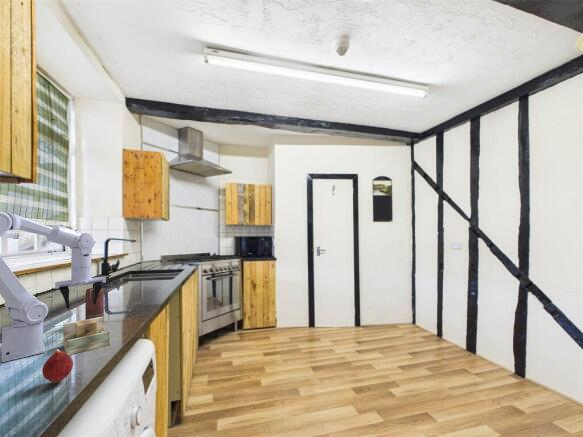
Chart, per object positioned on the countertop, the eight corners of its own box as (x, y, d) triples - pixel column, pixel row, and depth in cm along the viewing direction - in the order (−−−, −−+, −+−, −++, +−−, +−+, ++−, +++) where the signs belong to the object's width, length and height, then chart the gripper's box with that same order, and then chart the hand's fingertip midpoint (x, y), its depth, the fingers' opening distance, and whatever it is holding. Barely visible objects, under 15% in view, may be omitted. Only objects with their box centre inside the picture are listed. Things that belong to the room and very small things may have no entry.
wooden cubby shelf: (66, 355, 87) (67, 331, 87) (63, 345, 94) (63, 323, 94) (109, 344, 94) (109, 322, 94) (103, 336, 101) (103, 316, 102)
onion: (78, 376, 74) (78, 344, 74) (61, 388, 68) (61, 354, 69) (54, 377, 74) (55, 344, 74) (35, 389, 68) (36, 354, 68)
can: (82, 327, 112) (82, 290, 112) (88, 322, 118) (89, 287, 118) (100, 325, 113) (100, 289, 114) (106, 320, 120) (106, 286, 120)
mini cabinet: (77, 345, 91) (77, 326, 91) (75, 341, 95) (75, 322, 96) (96, 341, 95) (96, 322, 95) (93, 337, 99) (93, 319, 99)
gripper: (56, 270, 96) (56, 312, 95) (107, 266, 106) (107, 303, 105) (54, 268, 101) (54, 308, 101) (103, 264, 111) (103, 300, 110)
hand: (81, 305), depth 103 cm, fingers open, 7 cm apart
